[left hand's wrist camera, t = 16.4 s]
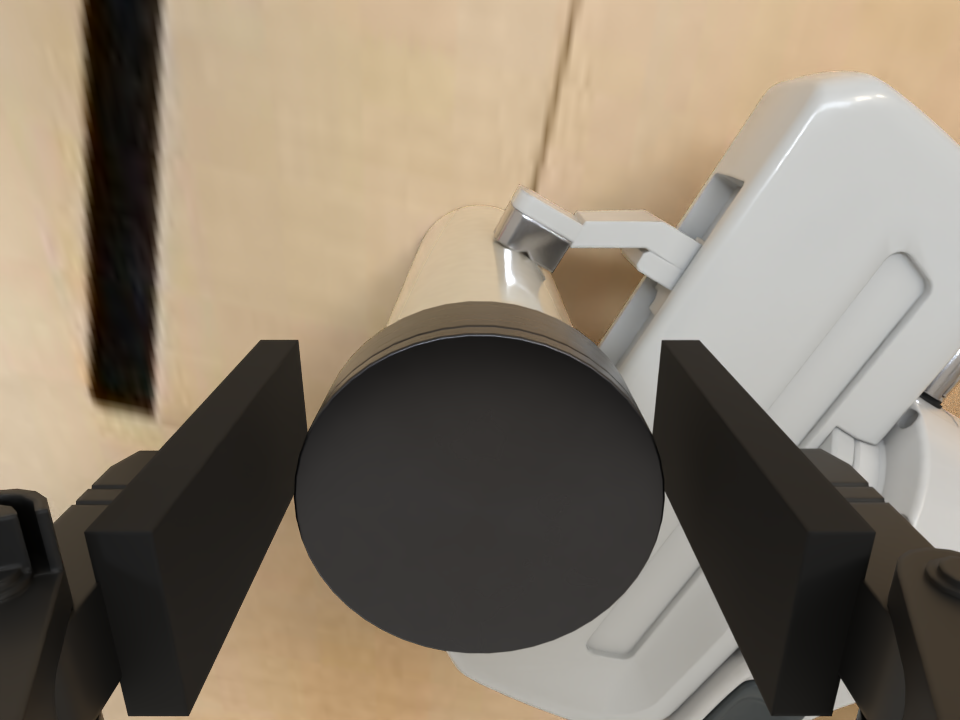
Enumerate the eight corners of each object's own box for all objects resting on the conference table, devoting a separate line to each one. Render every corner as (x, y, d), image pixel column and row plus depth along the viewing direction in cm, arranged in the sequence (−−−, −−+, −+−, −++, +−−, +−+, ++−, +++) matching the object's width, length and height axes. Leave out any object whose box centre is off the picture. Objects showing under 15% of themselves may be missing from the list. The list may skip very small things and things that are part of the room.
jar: (548, 208, 24) (646, 357, 10) (538, 332, 26) (608, 612, 12) (417, 201, 24) (327, 342, 10) (414, 327, 26) (335, 601, 12)
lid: (264, 360, 11) (229, 402, 10) (593, 253, 11) (613, 280, 9) (387, 618, 13) (375, 689, 12) (672, 541, 13) (701, 604, 11)
